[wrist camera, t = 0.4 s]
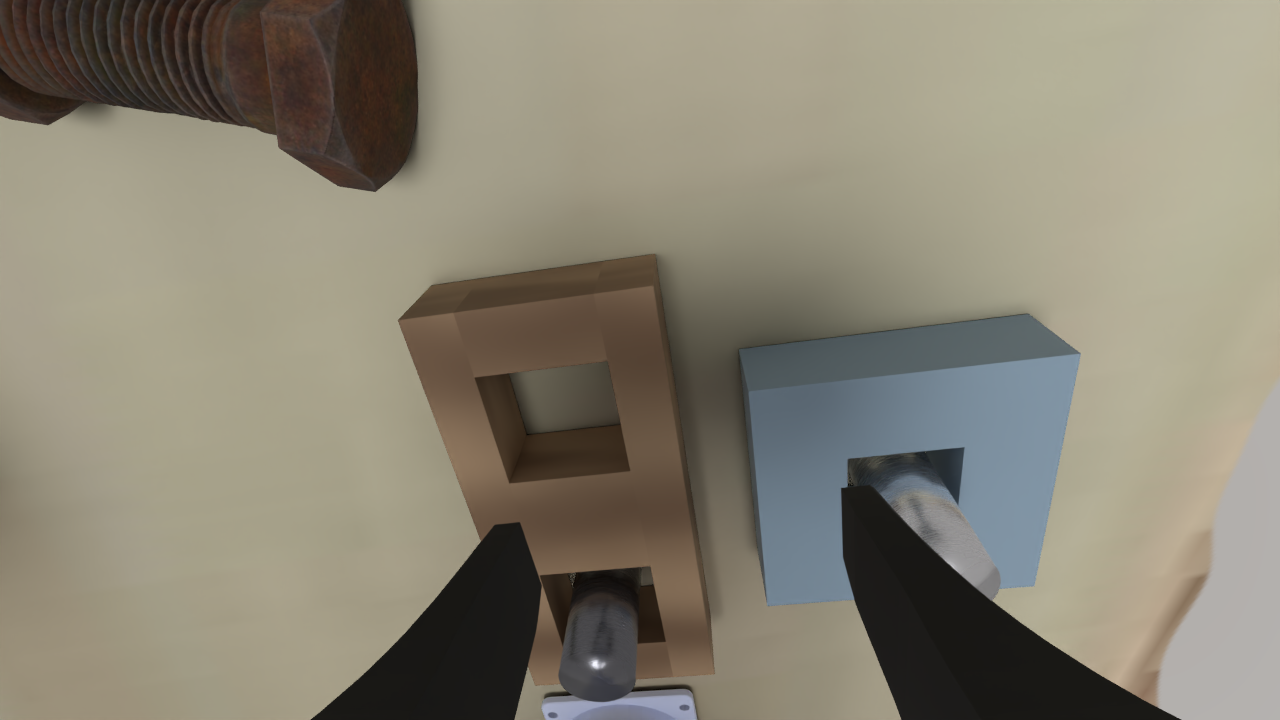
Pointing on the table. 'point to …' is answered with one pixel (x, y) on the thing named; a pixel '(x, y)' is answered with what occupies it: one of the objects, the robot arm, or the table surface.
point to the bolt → (228, 71)
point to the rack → (573, 444)
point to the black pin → (602, 635)
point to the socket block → (905, 438)
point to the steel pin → (929, 512)
